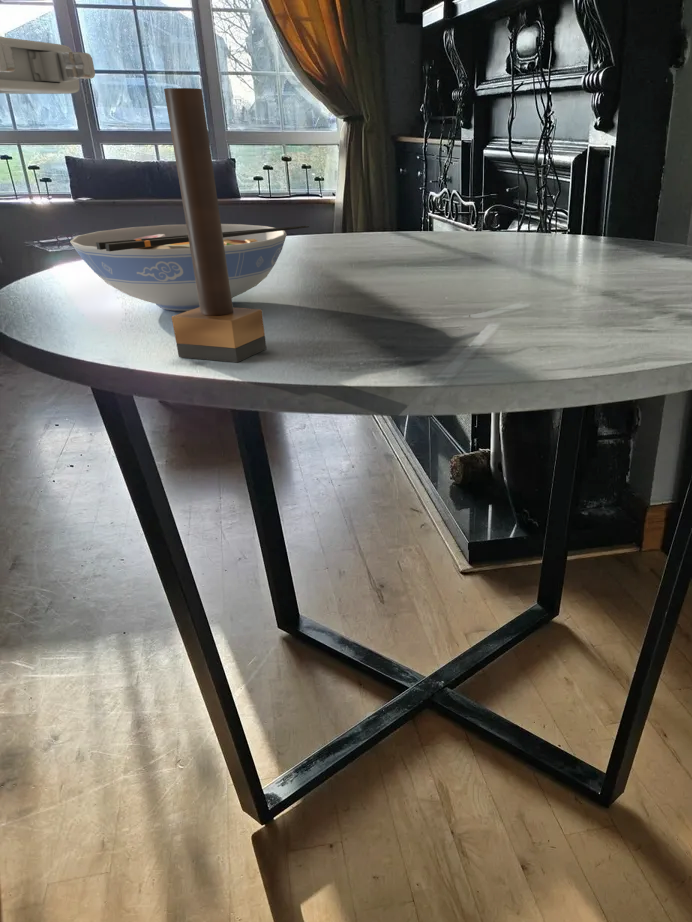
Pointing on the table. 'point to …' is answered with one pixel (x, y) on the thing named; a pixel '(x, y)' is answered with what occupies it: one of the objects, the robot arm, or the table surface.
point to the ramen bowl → (177, 260)
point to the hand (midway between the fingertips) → (50, 61)
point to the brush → (206, 245)
